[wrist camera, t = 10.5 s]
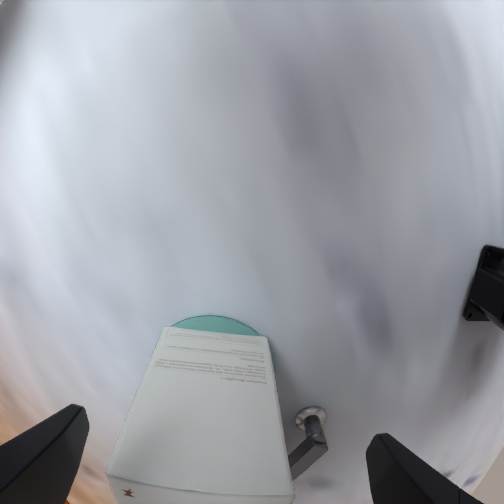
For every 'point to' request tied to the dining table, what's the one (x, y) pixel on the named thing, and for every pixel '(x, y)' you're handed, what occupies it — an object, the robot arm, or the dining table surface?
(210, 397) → the supplement box
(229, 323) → the teal round disc
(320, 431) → the grey cabinet handle
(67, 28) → the dining table surface
